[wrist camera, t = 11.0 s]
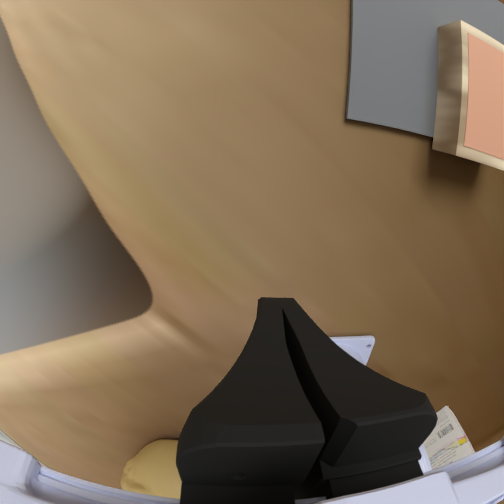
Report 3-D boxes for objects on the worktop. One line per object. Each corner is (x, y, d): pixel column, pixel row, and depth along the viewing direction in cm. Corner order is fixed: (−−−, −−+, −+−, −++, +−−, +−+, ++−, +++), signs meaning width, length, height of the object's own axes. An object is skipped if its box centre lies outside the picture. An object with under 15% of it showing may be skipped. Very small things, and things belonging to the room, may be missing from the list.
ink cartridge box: (408, 443, 36) (437, 517, 23) (397, 437, 35) (428, 518, 21) (454, 413, 34) (491, 484, 21) (447, 403, 32) (488, 482, 19)
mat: (525, 169, 20) (527, 170, 19) (345, 118, 18) (347, 118, 18) (526, 24, 13) (529, 23, 13) (349, -66, 12) (350, -68, 12)
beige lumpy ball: (118, 428, 31) (100, 500, 21) (208, 425, 30) (203, 509, 20) (158, 468, 36) (149, 529, 26) (236, 465, 35) (237, 532, 25)
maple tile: (508, 172, 16) (514, 52, 12) (456, 155, 16) (461, 19, 12) (484, 164, 19) (490, 54, 15) (431, 149, 19) (437, 27, 15)
